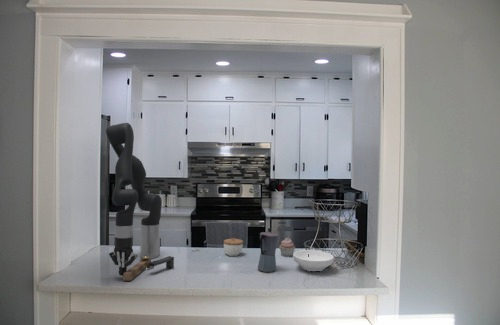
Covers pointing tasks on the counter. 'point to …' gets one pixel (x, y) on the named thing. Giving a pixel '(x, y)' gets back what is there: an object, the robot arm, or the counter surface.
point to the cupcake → (287, 247)
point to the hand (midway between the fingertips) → (122, 275)
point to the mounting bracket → (197, 249)
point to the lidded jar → (233, 246)
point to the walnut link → (136, 269)
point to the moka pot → (268, 251)
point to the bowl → (313, 259)
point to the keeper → (167, 260)
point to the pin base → (147, 259)
